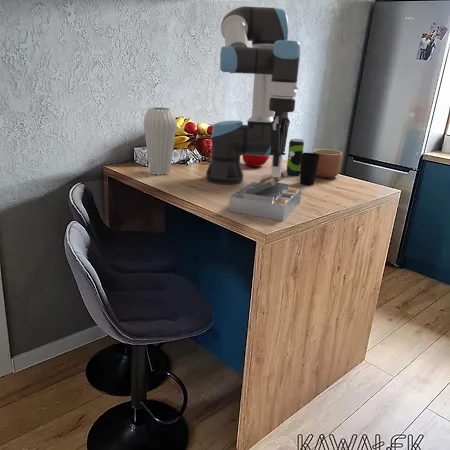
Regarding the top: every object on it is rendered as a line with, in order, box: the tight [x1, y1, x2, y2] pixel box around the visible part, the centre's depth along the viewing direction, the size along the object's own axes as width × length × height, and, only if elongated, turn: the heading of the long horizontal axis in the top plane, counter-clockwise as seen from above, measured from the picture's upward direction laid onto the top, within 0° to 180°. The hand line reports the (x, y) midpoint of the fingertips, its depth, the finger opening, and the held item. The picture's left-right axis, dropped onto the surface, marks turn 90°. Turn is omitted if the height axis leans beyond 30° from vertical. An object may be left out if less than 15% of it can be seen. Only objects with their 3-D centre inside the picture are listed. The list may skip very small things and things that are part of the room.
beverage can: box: [286, 138, 305, 177], centre depth 198 cm, size 6×6×15 cm
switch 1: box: [246, 179, 276, 194], centre depth 145 cm, size 9×4×2 cm, turn 67°
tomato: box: [241, 155, 270, 167], centre depth 211 cm, size 13×12×11 cm
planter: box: [312, 148, 343, 179], centre depth 198 cm, size 12×12×11 cm
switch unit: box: [228, 181, 302, 222], centre depth 153 cm, size 18×22×6 cm
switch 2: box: [253, 176, 283, 187], centre depth 151 cm, size 9×4×2 cm, turn 67°
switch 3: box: [259, 169, 288, 182], centre depth 157 cm, size 9×4×2 cm, turn 67°
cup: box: [299, 152, 320, 187], centre depth 184 cm, size 8×8×12 cm
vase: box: [143, 106, 177, 174], centre depth 186 cm, size 13×13×26 cm
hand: (275, 176), depth 141 cm, fingers closed
